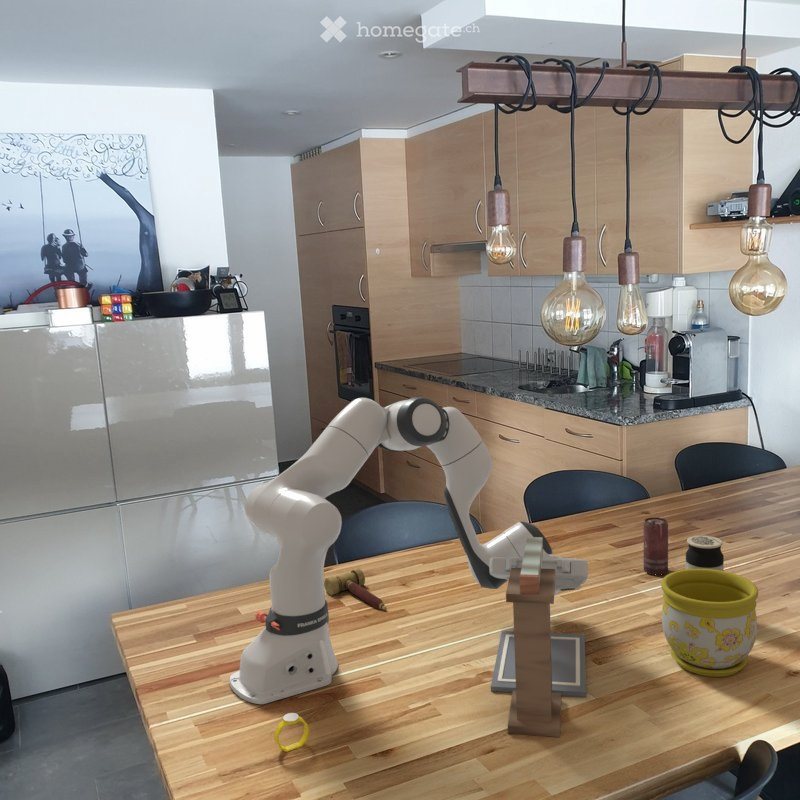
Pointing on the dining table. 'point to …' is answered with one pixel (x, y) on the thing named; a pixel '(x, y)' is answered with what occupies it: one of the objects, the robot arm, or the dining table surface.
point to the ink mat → (563, 660)
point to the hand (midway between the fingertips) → (536, 562)
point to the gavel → (353, 587)
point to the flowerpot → (709, 620)
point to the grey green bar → (531, 566)
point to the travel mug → (704, 553)
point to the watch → (291, 719)
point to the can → (655, 546)
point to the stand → (533, 659)
